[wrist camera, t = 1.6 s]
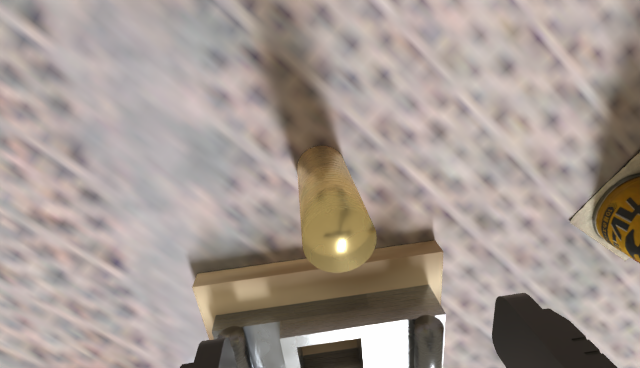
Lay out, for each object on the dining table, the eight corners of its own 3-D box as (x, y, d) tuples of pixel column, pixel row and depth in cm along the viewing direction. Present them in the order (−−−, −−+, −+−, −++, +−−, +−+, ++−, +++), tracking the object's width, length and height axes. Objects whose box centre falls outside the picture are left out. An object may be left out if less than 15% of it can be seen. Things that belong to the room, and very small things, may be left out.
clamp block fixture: (197, 273, 25) (170, 343, 19) (435, 240, 26) (477, 298, 20) (231, 382, 30) (218, 465, 24) (431, 352, 31) (464, 425, 25)
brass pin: (294, 148, 22) (297, 214, 14) (342, 142, 22) (375, 204, 14) (300, 193, 23) (307, 277, 15) (346, 186, 23) (378, 267, 15)
